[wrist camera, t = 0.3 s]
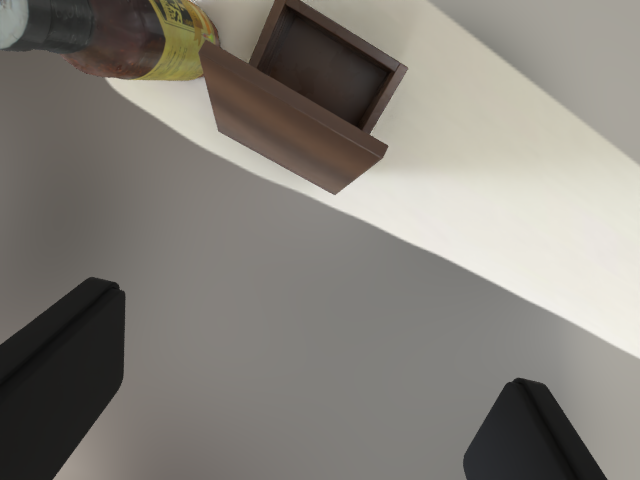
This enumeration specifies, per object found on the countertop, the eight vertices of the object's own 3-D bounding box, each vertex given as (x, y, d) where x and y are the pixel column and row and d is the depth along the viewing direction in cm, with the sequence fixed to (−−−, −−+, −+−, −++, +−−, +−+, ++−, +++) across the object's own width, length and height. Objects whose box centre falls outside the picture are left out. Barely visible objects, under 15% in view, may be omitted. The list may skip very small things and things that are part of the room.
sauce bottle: (232, 23, 32) (85, -46, 14) (209, 93, 35) (58, 109, 17) (161, -15, 32) (-92, -141, 13) (142, 58, 34) (-94, 37, 16)
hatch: (205, 38, 18) (197, 52, 18) (389, 145, 19) (382, 158, 19) (223, 122, 29) (217, 131, 29) (339, 186, 30) (334, 195, 30)
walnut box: (293, 5, 32) (279, -13, 25) (397, 69, 33) (408, 67, 27) (243, 117, 35) (222, 126, 29) (338, 171, 37) (337, 189, 31)
